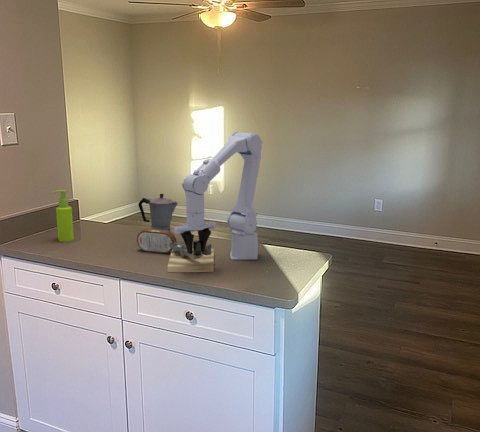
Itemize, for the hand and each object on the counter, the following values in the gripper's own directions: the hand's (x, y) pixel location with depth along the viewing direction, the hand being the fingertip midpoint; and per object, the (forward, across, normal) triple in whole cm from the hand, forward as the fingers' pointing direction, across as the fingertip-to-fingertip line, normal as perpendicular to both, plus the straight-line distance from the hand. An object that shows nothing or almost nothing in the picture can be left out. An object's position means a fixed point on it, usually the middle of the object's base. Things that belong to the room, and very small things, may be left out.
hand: (195, 252), depth 163 cm
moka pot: (+6, +2, +33) cm, 34 cm away
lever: (+4, 0, +7) cm, 8 cm away
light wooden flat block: (+6, +2, +7) cm, 9 cm away
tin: (+6, -3, +24) cm, 25 cm away
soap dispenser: (+6, -27, +58) cm, 65 cm away
